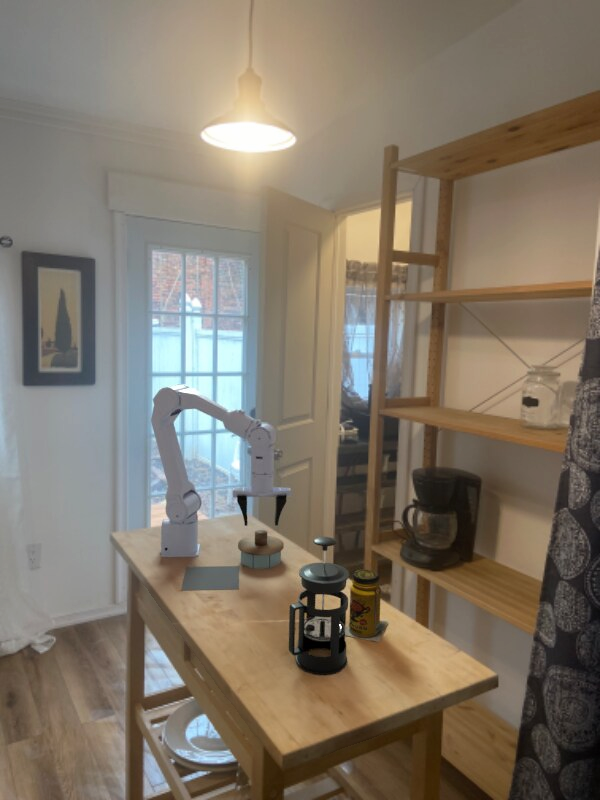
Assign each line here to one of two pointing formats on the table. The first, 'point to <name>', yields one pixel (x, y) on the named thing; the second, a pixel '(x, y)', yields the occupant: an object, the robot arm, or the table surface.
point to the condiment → (365, 607)
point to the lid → (260, 544)
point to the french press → (320, 616)
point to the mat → (211, 578)
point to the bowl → (260, 560)
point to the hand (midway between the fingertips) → (261, 524)
